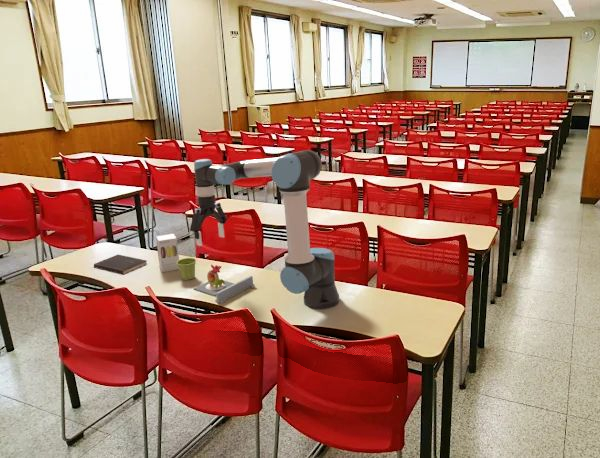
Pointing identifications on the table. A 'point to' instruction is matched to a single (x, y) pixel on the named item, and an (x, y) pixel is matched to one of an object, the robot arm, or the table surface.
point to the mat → (212, 288)
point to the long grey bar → (234, 289)
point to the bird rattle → (214, 276)
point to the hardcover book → (120, 264)
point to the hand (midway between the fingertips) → (210, 241)
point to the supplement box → (167, 252)
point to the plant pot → (187, 268)
